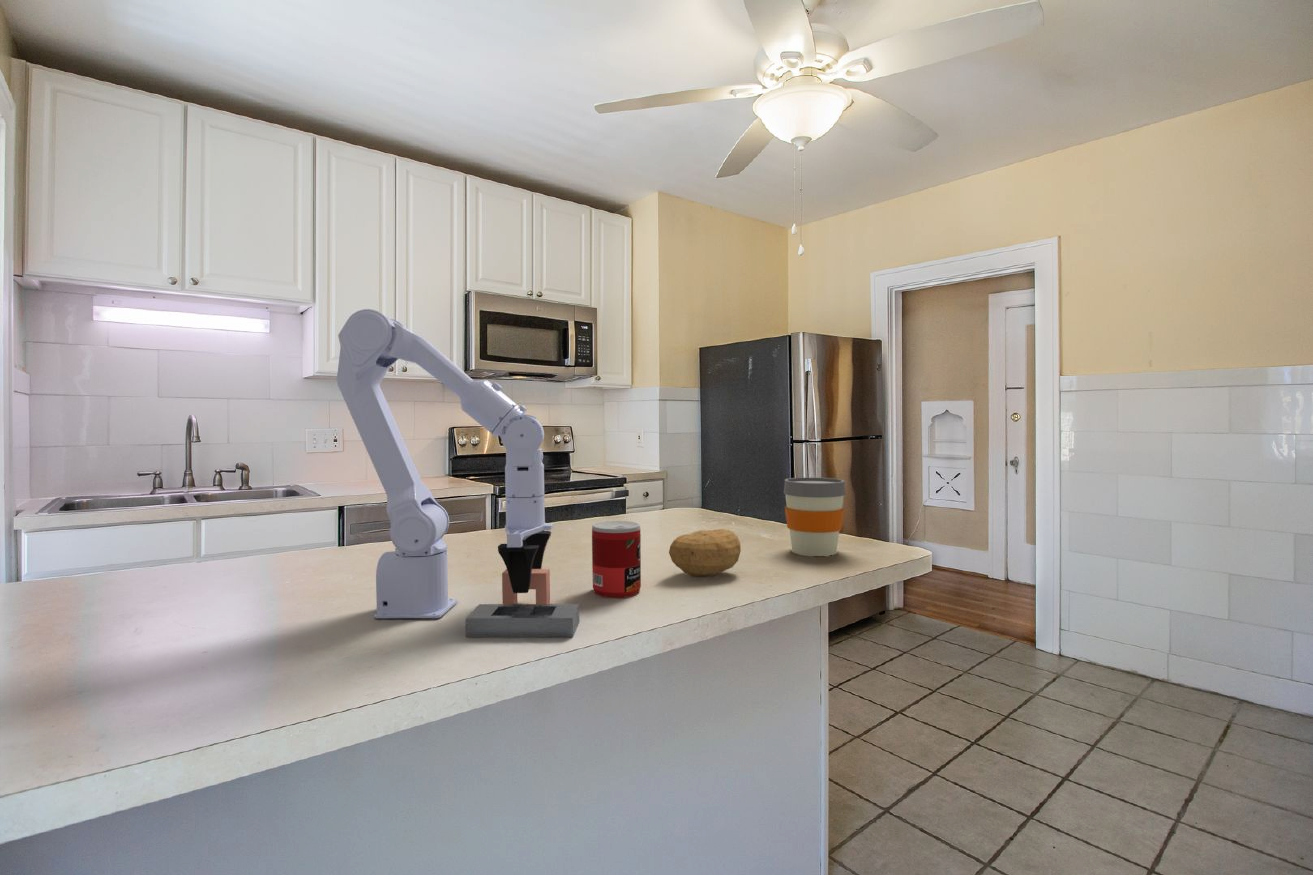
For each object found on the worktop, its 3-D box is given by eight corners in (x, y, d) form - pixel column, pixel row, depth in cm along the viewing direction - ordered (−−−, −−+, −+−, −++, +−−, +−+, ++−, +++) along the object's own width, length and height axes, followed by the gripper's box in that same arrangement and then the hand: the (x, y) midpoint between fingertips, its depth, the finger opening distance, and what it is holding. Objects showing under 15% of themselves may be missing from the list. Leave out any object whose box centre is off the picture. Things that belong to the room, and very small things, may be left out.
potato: (657, 574, 112) (657, 530, 112) (721, 565, 119) (721, 523, 119) (685, 587, 104) (685, 540, 103) (753, 576, 110) (753, 531, 110)
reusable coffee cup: (858, 553, 128) (858, 481, 127) (815, 561, 121) (815, 485, 121) (813, 543, 139) (813, 476, 138) (771, 550, 132) (771, 479, 131)
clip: (502, 609, 93) (502, 573, 92) (507, 604, 95) (506, 569, 95) (546, 609, 93) (546, 573, 92) (550, 603, 95) (549, 568, 95)
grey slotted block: (465, 637, 81) (465, 618, 81) (479, 621, 87) (479, 604, 87) (573, 637, 81) (572, 617, 81) (579, 621, 87) (579, 603, 87)
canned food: (635, 599, 97) (634, 529, 97) (586, 596, 99) (585, 528, 98) (645, 586, 105) (645, 521, 104) (600, 584, 106) (599, 520, 106)
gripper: (541, 502, 86) (543, 599, 86) (559, 489, 100) (561, 572, 101) (491, 502, 86) (493, 599, 87) (516, 489, 101) (518, 573, 101)
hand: (526, 585), depth 94 cm, fingers open, 7 cm apart
